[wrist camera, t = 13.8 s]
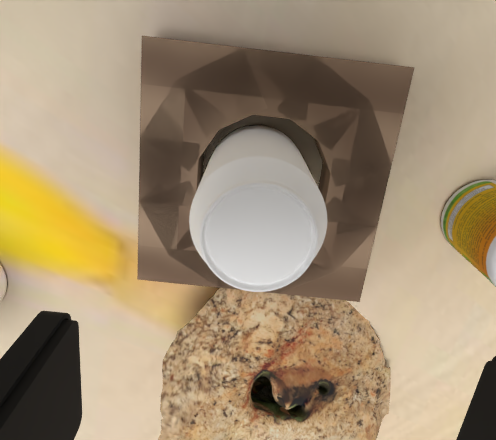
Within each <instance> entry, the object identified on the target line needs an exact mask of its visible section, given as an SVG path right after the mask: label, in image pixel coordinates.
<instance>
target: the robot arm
mask: <svg viewBox="0 0 496 440" xmlns="http://www.w3.org/2000/svg"><path fill="white" fill-rule="evenodd" d="M81 418H82V399H81V375H80V351H79V327H78V322H77V321H73V320H71V317H70V314H68V313H60V312H50V311H41V312H40V313H39V314H38V315H37V316H36V317H35V318H34V320H33V321H32V322H31V323H30V324H29V326H28V327H27V328H26V329H25V330H24V332H23V333H22V334H21V335H20V336H19V338H18V339H17V340H16V341H15V342H14V344H13V345H12V346H11V347H10V348H9V350H8V351H7V352H6V353H5V354H4V356H3V357H2V358H1V359H0V440H74V438H75V436H76V434H77V431H78V429H79V426H80V423H81ZM457 440H496V356H495V357H494V358H493V359H492V361H488V362H487V363H486V364H485V366H484V369H483V372H482V374H481V377H480V380H479V382H478V385H477V387H476V390H475V393H474V395H473V398H472V400H471V403H470V406H469V408H468V411H467V414H466V416H465V419H464V421H463V424H462V427H461V429H460V432H459V434H458V437H457Z"/></svg>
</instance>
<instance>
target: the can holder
mask: <svg viewBox="0 0 496 440" xmlns="http://www.w3.org/2000/svg"><path fill="white" fill-rule="evenodd" d="M413 71H414V68H413V67H404V66H396V65H387V64H379V63H370V62H362V61H353V60H345V59H336V58H328V57H319V56H311V55H302V54H294V53H285V52H276V51H268V50H259V49H251V48H242V47H234V46H225V45H217V44H208V43H200V42H191V41H183V40H174V39H166V38H157V37H149V36H142V61H141V116H140V172H139V227H138V279H139V280H149V281H159V282H169V283H179V284H188V285H198V286H208V287H218V288H228V289H238V288H235V287H233V286H231V285H229V284H227V283H225V282H224V281H222V280H221V279H220V278H218V277H217V276H216V275H215V274H214V273H213V272H212V271H211V269H210V268H209V267H208V265H207V264H206V262H205V261H204V260H203V259H202V258H201V256H200V255H199V253H198V251H197V250H196V248H195V246H194V243H193V240H192V237H191V233H190V226H189V216H190V209H191V205H192V201H193V199H194V196H195V194H196V191H197V189H198V186H199V184H200V182H201V179H202V169H203V155H204V151H205V149H206V148H207V146H208V145H209V143H210V142H211V141H212V139H213V138H214V136H215V135H216V133H217V132H218V131H219V130H220V129H222V128H224V127H227V126H229V125H231V124H233V123H236V122H238V121H240V120H242V119H244V118H247V117H249V116H251V115H259V116H268V117H277V118H286V119H290V120H292V121H293V122H294V123H296V124H297V125H298V126H299V127H301V128H302V129H303V130H305V131H306V132H307V133H309V134H310V135H311V136H313V137H314V140H315V142H316V145H317V148H318V150H319V153H320V155H321V158H322V161H323V166H322V172H321V177H320V183H319V190H320V192H321V194H322V197H323V199H324V202H325V206H326V211H327V230H326V235H325V239H324V241H323V244H322V246H321V248H320V250H319V252H318V254H317V255H316V256H315V258H314V259H313V261H312V262H311V264H310V266H309V267H308V268H307V270H306V271H305V272H304V273H303V274H302V275H301V276H300V277H299V278H298V279H296V280H295V281H294V282H292V283H290V284H289V285H287V286H284V287H282V288H279V289H276V290H272V291H266V292H268V293H277V294H287V295H297V296H307V297H317V298H327V299H337V300H347V301H357V302H360V297H361V293H362V289H363V285H364V280H365V276H366V272H367V268H368V263H369V259H370V255H371V250H372V246H373V242H374V238H375V233H376V229H377V225H378V221H379V216H380V212H381V208H382V204H383V199H384V195H385V191H386V186H387V182H388V178H389V174H390V169H391V165H392V161H393V157H394V152H395V148H396V144H397V139H398V135H399V131H400V127H401V122H402V118H403V114H404V110H405V105H406V101H407V97H408V93H409V88H410V84H411V80H412V75H413ZM238 290H241V289H238Z"/></svg>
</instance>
